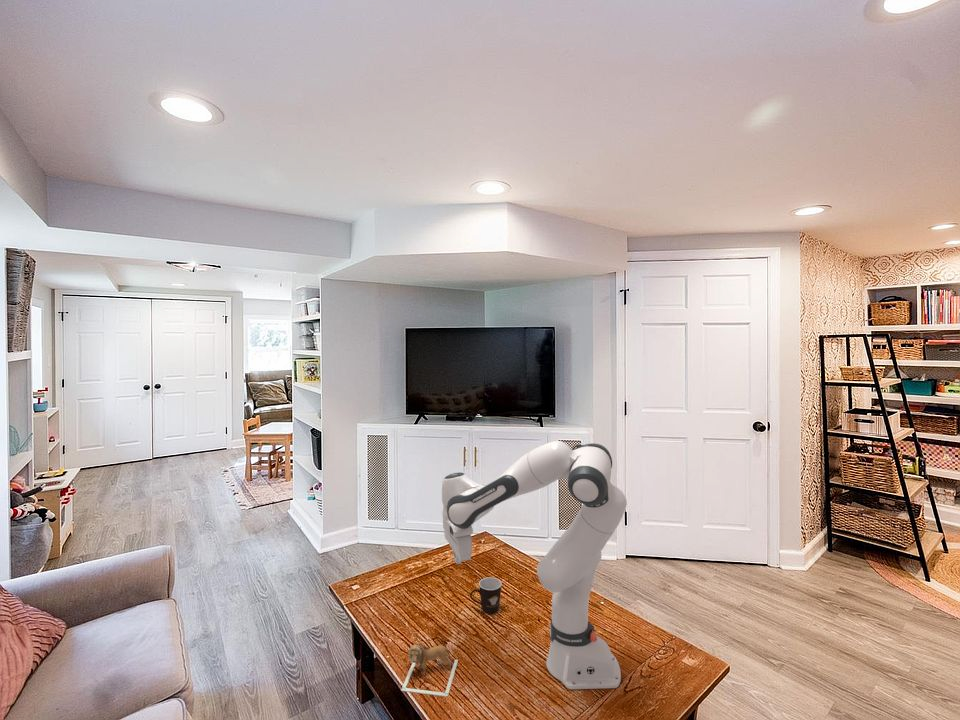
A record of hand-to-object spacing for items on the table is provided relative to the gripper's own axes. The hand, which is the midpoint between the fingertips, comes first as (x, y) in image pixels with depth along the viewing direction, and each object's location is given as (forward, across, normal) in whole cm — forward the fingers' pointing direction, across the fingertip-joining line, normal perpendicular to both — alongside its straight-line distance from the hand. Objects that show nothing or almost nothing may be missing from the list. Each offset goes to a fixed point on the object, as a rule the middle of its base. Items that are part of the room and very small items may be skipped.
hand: (457, 561), depth 151 cm
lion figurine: (+28, +9, -12) cm, 32 cm away
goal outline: (+28, +11, -13) cm, 32 cm away
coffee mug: (+28, -14, +15) cm, 34 cm away
